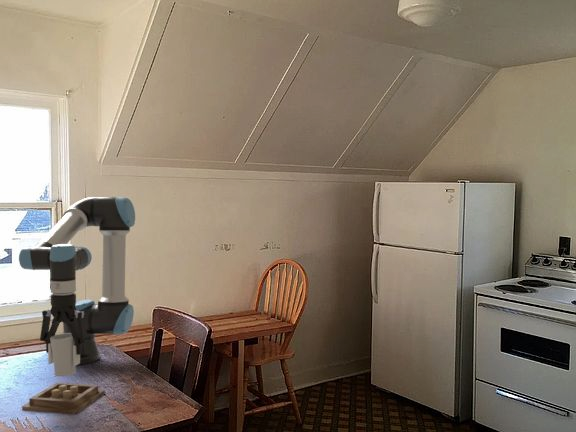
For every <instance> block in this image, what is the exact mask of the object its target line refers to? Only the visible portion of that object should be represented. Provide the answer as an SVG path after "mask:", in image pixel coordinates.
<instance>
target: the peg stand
mask: <svg viewBox="0 0 576 432" xmlns="http://www.w3.org/2000/svg"><path fill="white" fill-rule="evenodd" d="M105 392H106V389H99V385H95V384H83V383H72V382H71V383H69V382H55V383H53V384H52V385H50V386H49V387H47V388H45V389H44V390H42V391H39V392H38V393H36V394H35V395H33V396H32V397H30V398H29V401H28V402H27V403H25V404H24V405H22V406H21V410H23V411H25V410H26V411H37V412H47V413H56V414H57V413H60V414H69V415H71V414H72V415H76V414H78V413H79V412H81V411H82V410H83V409H85V408H86V407H88V406H89V405H90V404H92V403H93V402H95V401H96V400H97V399H99V398H100V397H102V396H103V395H105V394H106V393H105Z"/></svg>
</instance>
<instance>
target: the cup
mask: <svg viewBox="0 0 576 432" xmlns="http://www.w3.org/2000/svg"><path fill="white" fill-rule="evenodd" d="M50 341H51V347H52V353H53V361H54V363H53V367H54V376H56V377H68V376H72V375H74V374H76V373H77V367H76V366H77V365H76V366H73V345H74V344H75V342H74V339H73V337H72V334H71V333H64V334H63V333H59V334H55V335H54V336H52V337H50Z"/></svg>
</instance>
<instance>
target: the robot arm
mask: <svg viewBox="0 0 576 432" xmlns="http://www.w3.org/2000/svg"><path fill="white" fill-rule="evenodd" d="M135 224H136V212H135V207H134V204H133V202H132V200H131V199H130V198H127V197H121V196H107V197H106V196H98V197H97V196H91V197H86V198H83V199H81V200H79V201H77V202H75V203H74V204H72V205H70V206H69V207H68V208H67V209H66V210H65V211H64V212H63V214H62V218H61V219H60V220H58V222H57V223H56V224H55V225H54V226H53V227H52V228H51V229H50V230H49V231H48V232H47V233H46V234H45V235H44V236H43V238H42V239H40V240H39V241H38V243H37V244H35V246H33V247H32V246H28V247H27V246H26V247H22V249H21V250H20V252H19V254H18V262H19V265H20V267H21V268H22V269H23V270H32V271H41V270H43V271H44V270H45V271H46V270H47V271H48V270H49V271H50V272H49V273H50V293H51V294H50V306H51V308H50V309H45V310H42V312H41V313H42V322H41V328H40V329H41V331H40V337H39V341H41V342H44V343H45V348H46V349H45V351H46V353H47V354H48V357H47V358H48V361H47V363H48V364H49V365H52V364H54V361H53V353H52V347H51V341H50V337H52V336H54V335H57V334H56V333H57V331H58V329H59V325H60V324H61V323H62V326H63V327H62V329H63V331H62V334H64V333H71V334H72V337H73V339H74V342H75V344H74V345H73V366H79V365H86V364H91V363H94V362H96V361H98V360H99V359H100V350H99V348H98V345H97V342H96V338H95V335H113V336H114V335H115V336H116V335H124V334H127V333H128V332H129V330H130V329H131V327H132V325H133V320H134V315H135V311H134V310H135V309H134V306H133V305H132V304H130V303H129V302H130V301H129V298H128V297H127V296H126V293H125V291H126V248H127V247H126V238H127V235H128V234H129V233H130V232H131V231H130V229H131V227H133V226H135ZM86 227H87V228H88V227H98V229H99V233H101V234H102V238H103V239H102V277H101V278H102V283H101V284H102V286H101V291H102V292H101V297H99V299H98V300H97V303H95V301H94V299H82V300H78V301H77V294H76V291H77V281H76V279H77V277H76V276H77V275H76V271H79V270H83V269H85V268H86V267H87V268H88V266H89V265H90V264H91V263H92V256H93V255H92V254H91V251H90V250H89V249H88V248H87V247H85V246H75V245H74V244H70V243H69V242H70V241H71V240H72V239H73V238H74V237H75V235H76V234H77V233H78V232H80V231H83V230H84V229H85V228H86ZM51 317H53V318H52V320H51Z"/></svg>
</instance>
